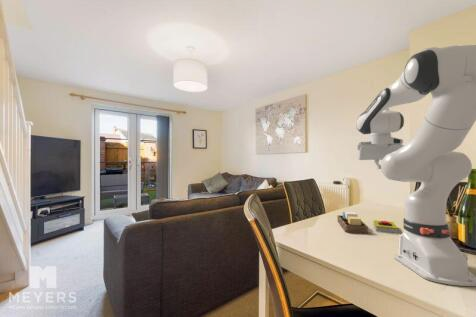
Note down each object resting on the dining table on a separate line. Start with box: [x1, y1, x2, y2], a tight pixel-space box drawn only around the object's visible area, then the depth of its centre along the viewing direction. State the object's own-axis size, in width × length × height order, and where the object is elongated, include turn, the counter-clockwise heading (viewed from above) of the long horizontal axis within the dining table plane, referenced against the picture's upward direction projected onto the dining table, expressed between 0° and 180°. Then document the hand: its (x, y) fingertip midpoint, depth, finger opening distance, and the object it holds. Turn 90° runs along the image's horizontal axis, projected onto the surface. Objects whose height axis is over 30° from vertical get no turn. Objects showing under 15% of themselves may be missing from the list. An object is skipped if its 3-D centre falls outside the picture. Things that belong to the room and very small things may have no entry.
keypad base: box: [337, 214, 369, 235], centre depth 117 cm, size 20×10×3 cm, turn 166°
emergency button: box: [372, 219, 399, 235], centre depth 112 cm, size 9×4×15 cm
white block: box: [344, 211, 359, 220], centre depth 117 cm, size 4×5×4 cm
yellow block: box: [348, 216, 362, 226], centre depth 111 cm, size 4×5×4 cm
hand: (381, 168), depth 109 cm, fingers closed
